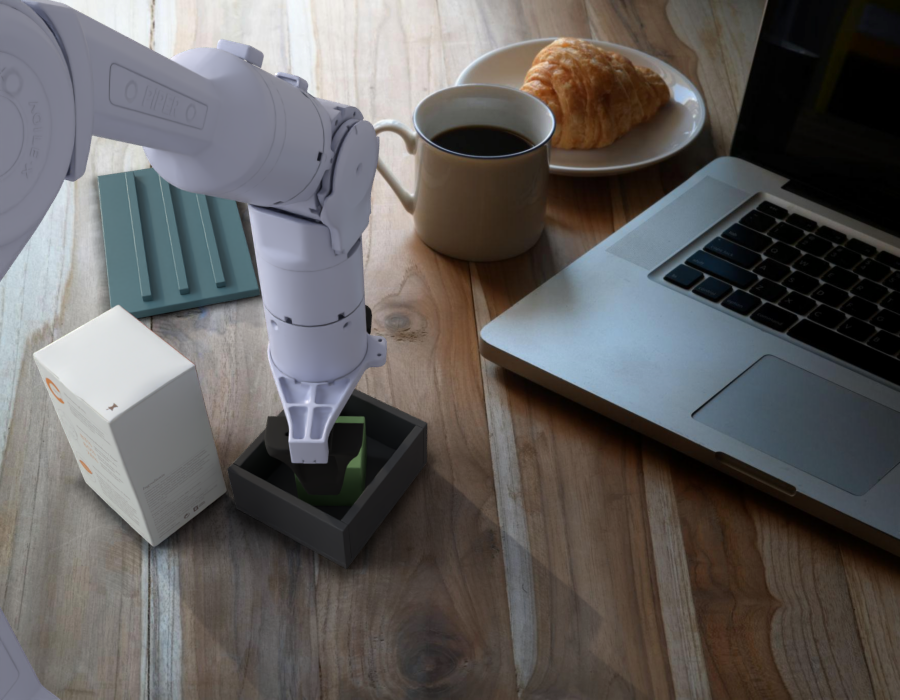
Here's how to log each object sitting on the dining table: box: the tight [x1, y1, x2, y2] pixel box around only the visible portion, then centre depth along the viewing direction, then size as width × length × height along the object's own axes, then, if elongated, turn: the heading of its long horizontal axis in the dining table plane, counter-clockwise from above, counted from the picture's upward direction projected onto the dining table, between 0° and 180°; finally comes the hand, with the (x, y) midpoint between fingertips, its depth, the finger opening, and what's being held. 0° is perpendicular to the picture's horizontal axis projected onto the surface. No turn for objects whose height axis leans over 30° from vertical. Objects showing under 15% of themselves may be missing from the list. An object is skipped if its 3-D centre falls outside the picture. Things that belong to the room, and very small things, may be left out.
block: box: [294, 416, 367, 506], centre depth 64 cm, size 4×4×4 cm
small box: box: [32, 305, 228, 548], centre depth 60 cm, size 8×6×13 cm
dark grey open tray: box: [226, 388, 429, 570], centre depth 64 cm, size 10×9×4 cm
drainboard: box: [96, 167, 261, 319], centre depth 83 cm, size 20×12×1 cm, turn 18°
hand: (328, 443), depth 62 cm, fingers open, 7 cm apart
